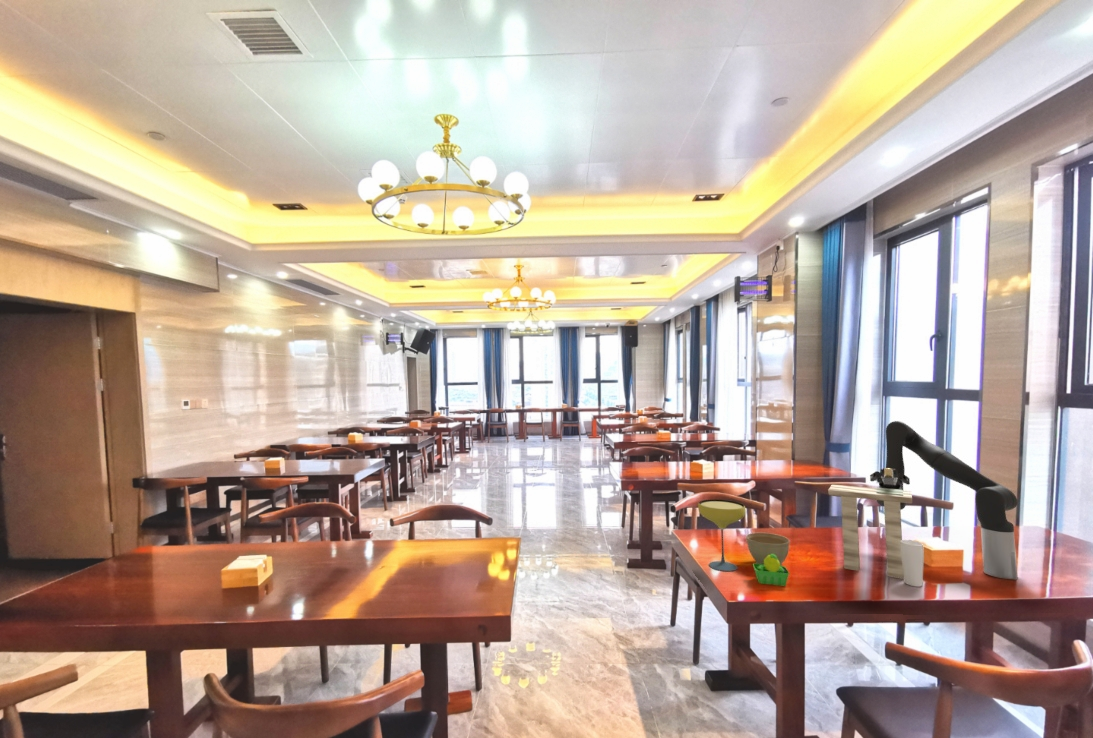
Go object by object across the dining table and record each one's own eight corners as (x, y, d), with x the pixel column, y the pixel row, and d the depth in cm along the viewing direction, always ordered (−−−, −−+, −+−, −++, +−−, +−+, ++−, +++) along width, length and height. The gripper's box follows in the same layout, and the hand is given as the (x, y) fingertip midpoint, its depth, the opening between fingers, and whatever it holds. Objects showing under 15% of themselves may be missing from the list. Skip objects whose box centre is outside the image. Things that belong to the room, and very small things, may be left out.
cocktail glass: (700, 572, 182) (698, 507, 184) (699, 557, 199) (697, 498, 201) (749, 577, 177) (747, 510, 178) (744, 561, 194) (742, 500, 195)
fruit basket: (785, 579, 174) (784, 549, 175) (791, 589, 166) (789, 557, 166) (752, 576, 177) (751, 546, 178) (756, 586, 169) (755, 554, 169)
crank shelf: (835, 562, 192) (831, 483, 194) (915, 576, 176) (910, 490, 178) (831, 572, 180) (828, 488, 182) (917, 589, 165) (912, 496, 167)
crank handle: (884, 475, 189) (884, 461, 190) (893, 476, 188) (892, 462, 188) (884, 484, 172) (883, 468, 172) (893, 484, 170) (892, 469, 170)
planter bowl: (780, 558, 197) (779, 532, 197) (797, 573, 181) (796, 544, 181) (741, 557, 198) (740, 531, 199) (754, 571, 182) (753, 543, 183)
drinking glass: (902, 579, 174) (900, 538, 175) (925, 583, 169) (923, 542, 170) (901, 585, 169) (899, 543, 169) (925, 589, 164) (923, 546, 165)
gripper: (869, 476, 202) (867, 460, 191) (910, 479, 194) (910, 463, 182) (870, 493, 199) (867, 477, 187) (911, 497, 190) (911, 481, 179)
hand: (888, 470), depth 185 cm, fingers closed on crank handle, 2 cm apart
